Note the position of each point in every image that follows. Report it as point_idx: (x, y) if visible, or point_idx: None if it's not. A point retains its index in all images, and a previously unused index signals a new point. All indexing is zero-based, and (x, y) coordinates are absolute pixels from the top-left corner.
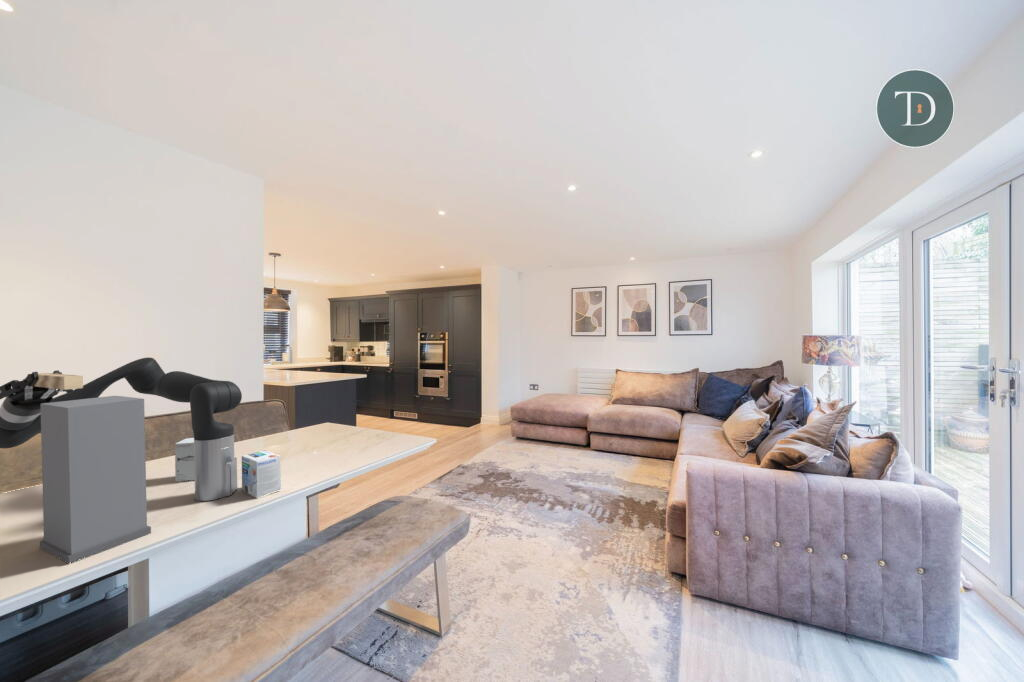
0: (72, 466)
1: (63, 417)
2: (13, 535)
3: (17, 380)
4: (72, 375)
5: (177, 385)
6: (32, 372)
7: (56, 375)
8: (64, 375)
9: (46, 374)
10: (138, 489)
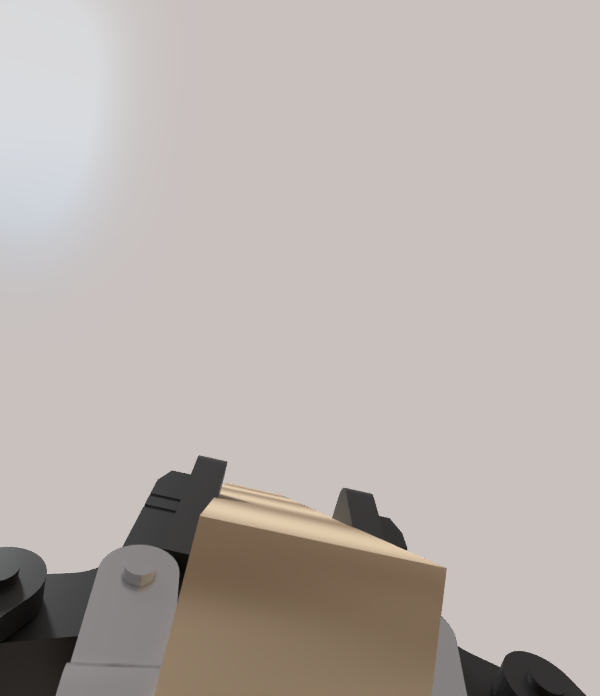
0: None
1: None
2: None
3: (505, 658)
4: (237, 486)
5: None
6: (373, 500)
7: (272, 496)
8: (253, 491)
9: (285, 506)
10: None
